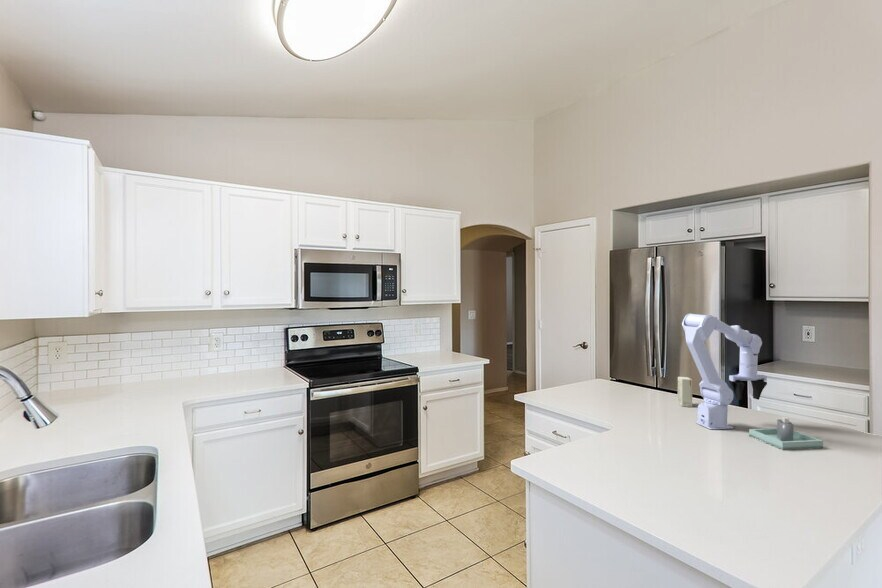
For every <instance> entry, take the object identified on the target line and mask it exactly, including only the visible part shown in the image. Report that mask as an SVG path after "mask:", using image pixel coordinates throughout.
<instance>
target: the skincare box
mask: <svg viewBox="0 0 882 588" xmlns="http://www.w3.org/2000/svg"><path fill="white" fill-rule="evenodd" d="M676 402H677V404H678V405H679V406H681V407H683V408H684V407H685V408H687V407H688V408H692V407H693V379H692V378H691V377H689V376H677V401H676Z"/></svg>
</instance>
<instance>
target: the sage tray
mask: <svg viewBox="0 0 882 588" xmlns="http://www.w3.org/2000/svg"><path fill="white" fill-rule="evenodd" d="M750 436H751V438H752V437H753V438H752V439H755V438H756V440H757V439H758V440H757V441H760V440H761V441H760V442H762V441H763V443H764V442H766V443H765V444H767V443H768V445H769V444H771V445H770V446H772V445H773V446H772V447H774V446H775V447H774V448H776V447H778V448H777V449H779V448H780V450H781V449H782V450H781V451H788V450H787V449H794V450H809V449H808V448H816V449H824V447H823V445H824V444H823V443H824V442H823V441H824V440H822V439H820V438H816V437H814V436H812V435H811V436H810V435H808V434H805V433H802V432H800V431H796V430H795V429H794V430H793V441H780V440H779V439H778V438H777V427H776V428H775V427H773V428H772V427H771V428H749V432H748V437H750Z"/></svg>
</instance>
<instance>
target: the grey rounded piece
mask: <svg viewBox="0 0 882 588" xmlns="http://www.w3.org/2000/svg"><path fill="white" fill-rule="evenodd" d="M794 426H795V425H794V424H793V423H792V422H791V421H790V419H789V418H788V417H787V416H781V419H777V420H776V428H777V438H778V439H779V440H780V441H793V430H794V431H795V429H794Z"/></svg>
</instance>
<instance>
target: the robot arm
mask: <svg viewBox="0 0 882 588" xmlns="http://www.w3.org/2000/svg"><path fill="white" fill-rule="evenodd" d="M681 325H682V328H683V331H684V333H685V343H686V345H687V347H688V349H689V353H690V354H691V357H692V359H693V361H694V363H695V366H696V369H697V370H698V372H699V375H700V377H701V379H702V380H701V381H700V382H699V383H698V386H699V390H700V396H701V397H702V398H703V401H704V402H701V403H699V404H698V406H697V415H696V416H697V417H696V421H695V424H697V425H700V426H702V427H704V428H707V429H709V430H728V429H729V430H730V429H734V427H733V426H730V425H728V406H729V405H730V404H731V402H733V400H734V397H735V399H736V400H739V401H742V399H743V391H744V388H745V385H746V383H744V382H743V381H745V382H748V381H750V382H751V386H752V398H753V399H754V400H760V398H761V395H762V392H763V390H764V389H765V387H766V386H767V385H768V382H767V379H768V378H767V377H768V376H767V375H765V374H758V363H759V362H758V360H759V359H758V358H759V354H760V350H761V347H762V346H763V341H762V338H761V337H760V336H759V335H758V334H755V333H750V330H746V329H743V328H741V326H740V325H739V324H738V325H737V324H735V325H729V324H727V323H725V322H723V321H721V320H720V319H718V317H717V316H714V315H711V314H698V313H697V314H695V313H691V312H690V313H687V314H686V315H685V316H684V318H683V320H682V322H681ZM715 331H718V332H719V333H722V334H724V336H725V338H726V339H727V340H729V341H731V342H733V343H736V346H737V347H738V348H739V367H738V368H739V369H738V370H739V371H738V373H737V374H732V375H729V377H728V381H729V382H728V383H729V384H730V386H731V387H732V389H731V388H730V387H729V385H728V383H727V382H725V381H724V380H723V379H722V378H720V376H719V374H718V372H717V369H716V367H715V365H714V362H713V360H712V358H711V355H710V352H709V351H708V349H707V346H706V343H705V341H707V340H709V338H710V337H711V335H712V334H713V332H715Z"/></svg>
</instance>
